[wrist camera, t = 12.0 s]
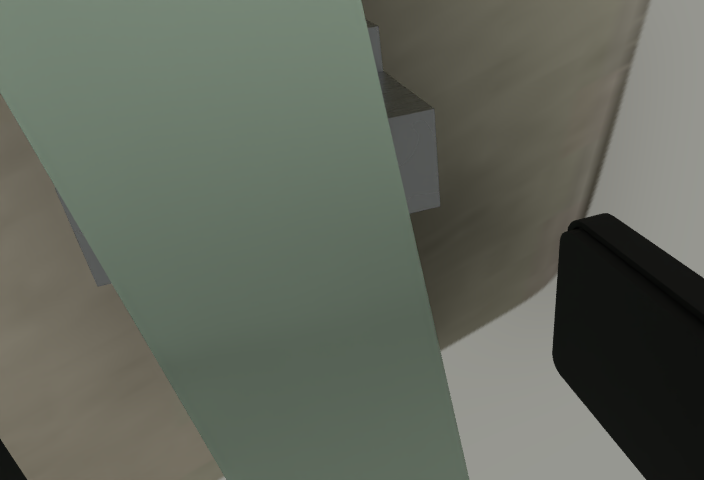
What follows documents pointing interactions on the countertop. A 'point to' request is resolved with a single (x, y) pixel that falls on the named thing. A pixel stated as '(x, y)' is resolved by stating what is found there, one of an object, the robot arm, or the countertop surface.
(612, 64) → the countertop surface
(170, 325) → the beam
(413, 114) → the stand
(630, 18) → the countertop surface
